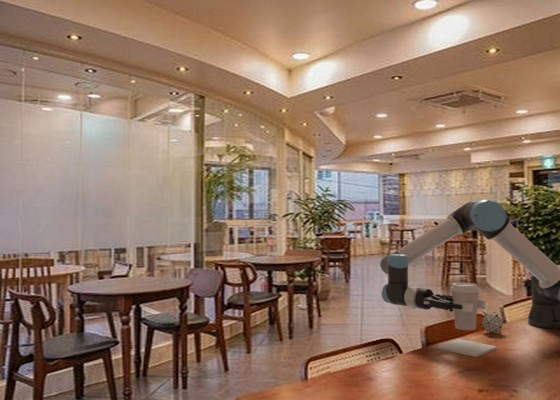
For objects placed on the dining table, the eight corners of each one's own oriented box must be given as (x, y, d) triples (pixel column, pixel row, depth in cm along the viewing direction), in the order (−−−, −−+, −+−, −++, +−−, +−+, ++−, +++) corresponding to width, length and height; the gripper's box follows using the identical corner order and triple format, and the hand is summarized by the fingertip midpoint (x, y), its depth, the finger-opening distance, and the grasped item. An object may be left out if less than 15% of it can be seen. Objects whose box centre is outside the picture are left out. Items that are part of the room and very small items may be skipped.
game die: (498, 343, 186) (509, 326, 181) (475, 335, 188) (486, 317, 182) (497, 327, 194) (508, 310, 188) (476, 319, 195) (486, 302, 190)
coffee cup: (475, 325, 172) (474, 282, 172) (484, 331, 162) (483, 286, 163) (447, 324, 173) (447, 282, 173) (454, 331, 163) (453, 286, 164)
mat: (458, 341, 177) (458, 338, 177) (496, 348, 166) (496, 346, 166) (437, 348, 168) (437, 346, 168) (476, 357, 157) (476, 354, 157)
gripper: (435, 304, 188) (493, 313, 171) (403, 311, 174) (463, 322, 157) (435, 285, 188) (493, 292, 171) (403, 290, 175) (462, 299, 157)
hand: (478, 306), depth 164 cm, fingers closed on coffee cup, 8 cm apart
